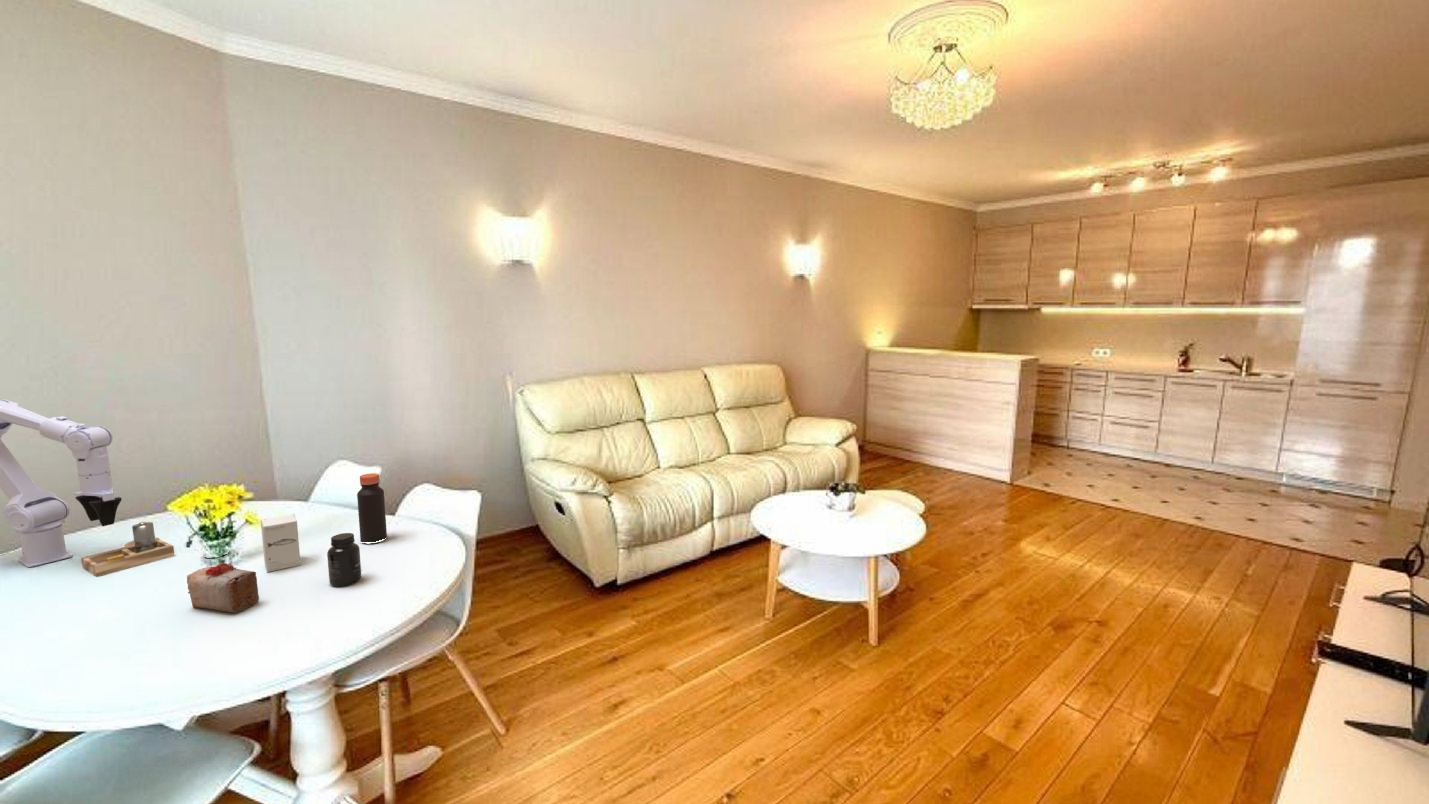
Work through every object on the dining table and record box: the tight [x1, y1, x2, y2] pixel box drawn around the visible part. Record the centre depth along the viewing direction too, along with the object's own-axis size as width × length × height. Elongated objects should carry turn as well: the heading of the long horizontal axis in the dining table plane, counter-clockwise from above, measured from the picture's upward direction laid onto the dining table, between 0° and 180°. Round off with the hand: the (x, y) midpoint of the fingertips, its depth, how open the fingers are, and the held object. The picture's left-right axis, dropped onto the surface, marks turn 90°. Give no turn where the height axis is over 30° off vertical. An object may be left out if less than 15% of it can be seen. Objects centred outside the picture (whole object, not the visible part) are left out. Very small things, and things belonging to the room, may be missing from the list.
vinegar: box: [356, 472, 388, 543], centre depth 167 cm, size 7×7×20 cm
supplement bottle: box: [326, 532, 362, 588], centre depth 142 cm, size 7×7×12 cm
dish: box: [123, 536, 160, 547], centre depth 159 cm, size 7×7×2 cm
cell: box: [131, 521, 156, 553], centre depth 153 cm, size 4×4×9 cm
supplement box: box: [260, 513, 302, 573], centre depth 150 cm, size 7×7×13 cm
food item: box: [186, 560, 260, 614], centre depth 130 cm, size 14×8×10 cm, turn 78°
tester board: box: [81, 538, 175, 578], centre depth 151 cm, size 10×15×4 cm, turn 152°
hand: (102, 522), depth 151 cm, fingers open, 7 cm apart
